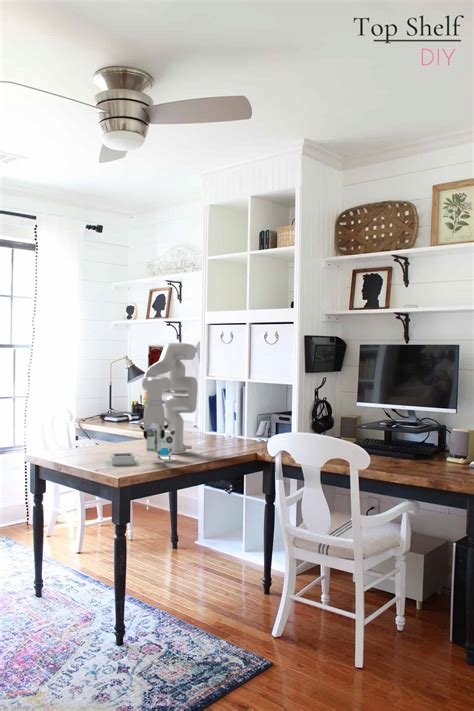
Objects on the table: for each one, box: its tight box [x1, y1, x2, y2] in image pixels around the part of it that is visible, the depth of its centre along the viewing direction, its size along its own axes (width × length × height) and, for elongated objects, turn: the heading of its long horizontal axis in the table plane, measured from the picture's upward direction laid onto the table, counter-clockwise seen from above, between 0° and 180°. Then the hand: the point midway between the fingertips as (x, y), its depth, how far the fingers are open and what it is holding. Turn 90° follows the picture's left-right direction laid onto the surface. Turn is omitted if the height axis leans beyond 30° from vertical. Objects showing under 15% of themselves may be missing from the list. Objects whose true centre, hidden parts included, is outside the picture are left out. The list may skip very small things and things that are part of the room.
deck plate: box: [104, 459, 141, 467], centre depth 292 cm, size 16×14×2 cm
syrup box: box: [146, 423, 162, 453], centre depth 297 cm, size 6×6×14 cm
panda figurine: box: [156, 430, 176, 462], centre depth 312 cm, size 12×11×15 cm
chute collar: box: [110, 452, 136, 465], centre depth 292 cm, size 10×10×4 cm
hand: (154, 438), depth 297 cm, fingers closed on syrup box, 7 cm apart
